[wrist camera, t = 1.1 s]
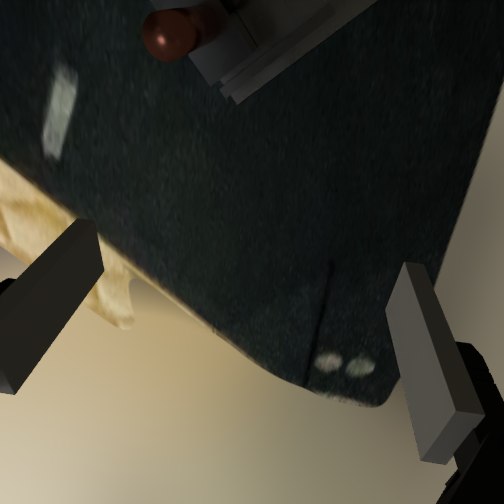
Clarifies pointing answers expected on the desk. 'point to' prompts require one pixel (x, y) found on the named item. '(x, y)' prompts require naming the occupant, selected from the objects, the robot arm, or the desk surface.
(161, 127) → the desk surface
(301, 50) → the press bed
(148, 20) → the ram
